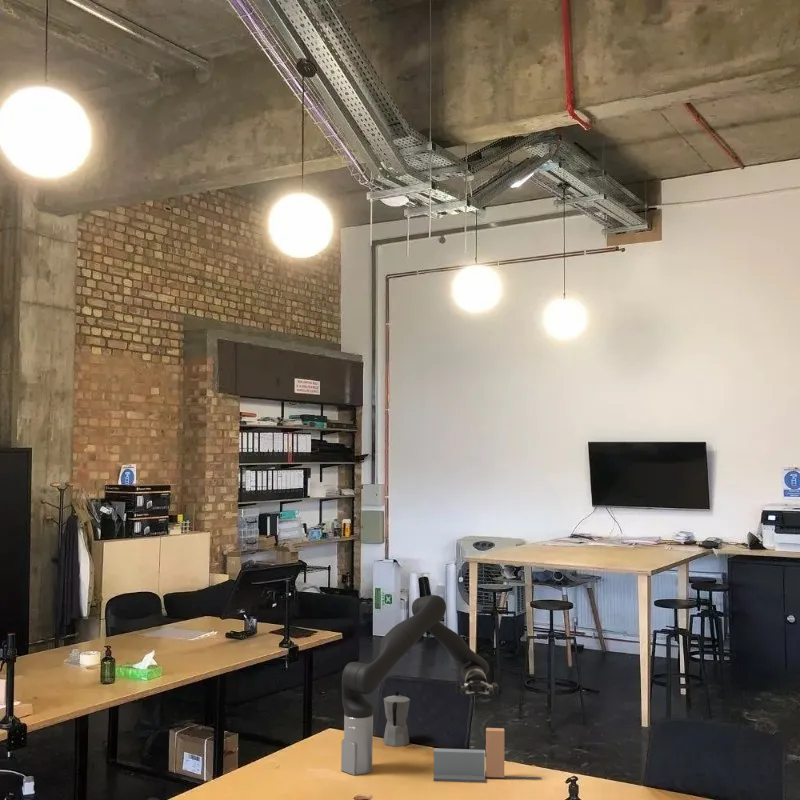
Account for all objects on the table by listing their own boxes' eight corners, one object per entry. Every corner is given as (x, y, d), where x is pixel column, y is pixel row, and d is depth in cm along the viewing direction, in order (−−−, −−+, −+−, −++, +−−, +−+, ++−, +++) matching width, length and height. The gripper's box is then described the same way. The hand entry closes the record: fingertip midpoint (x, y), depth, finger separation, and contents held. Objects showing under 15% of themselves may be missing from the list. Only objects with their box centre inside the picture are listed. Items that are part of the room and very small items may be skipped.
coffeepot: (385, 736, 309) (385, 685, 311) (411, 737, 308) (411, 686, 310) (380, 750, 294) (380, 696, 295) (407, 751, 293) (408, 697, 294)
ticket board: (433, 781, 265) (433, 755, 265) (434, 769, 275) (434, 744, 275) (542, 784, 263) (542, 758, 263) (539, 773, 273) (539, 748, 273)
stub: (486, 776, 267) (486, 730, 268) (485, 773, 270) (486, 727, 271) (504, 777, 267) (504, 731, 268) (503, 774, 270) (503, 728, 271)
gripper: (455, 670, 301) (456, 681, 285) (496, 670, 300) (499, 682, 284) (455, 692, 301) (456, 704, 284) (496, 692, 300) (499, 705, 284)
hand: (477, 693), depth 284 cm, fingers open, 8 cm apart
